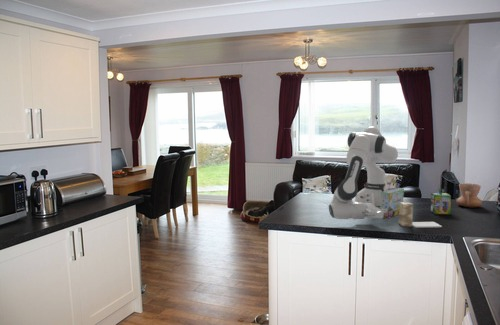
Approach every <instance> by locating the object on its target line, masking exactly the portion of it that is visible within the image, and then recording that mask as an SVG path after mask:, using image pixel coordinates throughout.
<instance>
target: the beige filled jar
mask: <svg viewBox="0 0 500 325" xmlns="http://www.w3.org/2000/svg"><path fill="white" fill-rule="evenodd" d="M413 206H414V203H411V202H409V201H408V202H407V201H406V202H404V201H403V202H400V209H399V214H398V225H399V224H400V225H399V226H400V227H403V228H405V227H406V228H407V227H408V228H410V227H413V226H412V222H413V211H414V210H413V208H414V207H413Z"/></svg>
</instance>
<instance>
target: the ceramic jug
mask: <svg viewBox="0 0 500 325" xmlns="http://www.w3.org/2000/svg"><path fill="white" fill-rule="evenodd" d="M458 187H459V192H460V194H461V196H459V197H458V198H456V203H457V204H458V205H459V206H461V207H463V208H469V209H470V208H474V209H475V208H478V207H481V206H482V205H483V201H482V199H481V198H480V197H478V195H479V193H480V191H481V188H482V186H481V185H480V184H477V183H476V184H475V183H465V182H464V183H459V184H458Z"/></svg>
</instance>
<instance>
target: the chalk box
mask: <svg viewBox="0 0 500 325" xmlns="http://www.w3.org/2000/svg"><path fill="white" fill-rule="evenodd" d="M437 189H438V192H431V193H430V212H432V213H433V215H451V208H452V207H451V206H452V204H451V200H452V196H451V195H450V193H447V192H442V189H441V188H439V187H438V188H437Z"/></svg>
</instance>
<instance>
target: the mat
mask: <svg viewBox="0 0 500 325" xmlns="http://www.w3.org/2000/svg"><path fill="white" fill-rule="evenodd" d="M412 227H414V228H416V229H417V228H422V229H423V228H424V229H425V228H443V226H442V225H440V224H439V223H437V222H435V221H412Z"/></svg>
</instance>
